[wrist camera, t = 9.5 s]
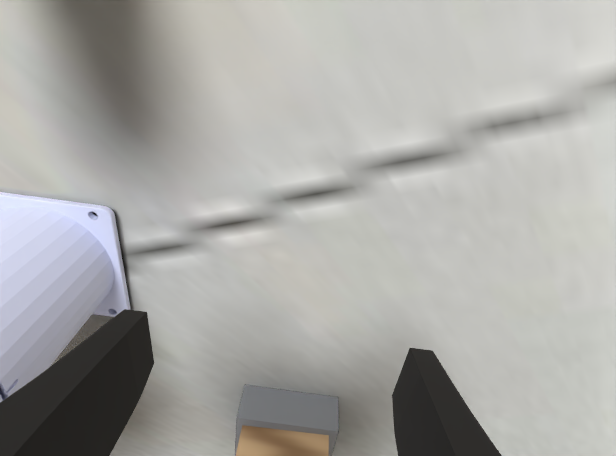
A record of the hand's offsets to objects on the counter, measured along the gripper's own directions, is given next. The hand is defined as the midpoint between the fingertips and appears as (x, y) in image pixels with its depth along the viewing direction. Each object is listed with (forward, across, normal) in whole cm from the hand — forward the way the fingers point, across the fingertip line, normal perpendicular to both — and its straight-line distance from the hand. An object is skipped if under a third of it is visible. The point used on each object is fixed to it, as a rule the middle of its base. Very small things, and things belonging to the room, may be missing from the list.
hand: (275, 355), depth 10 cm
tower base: (+11, -1, +20) cm, 22 cm away
